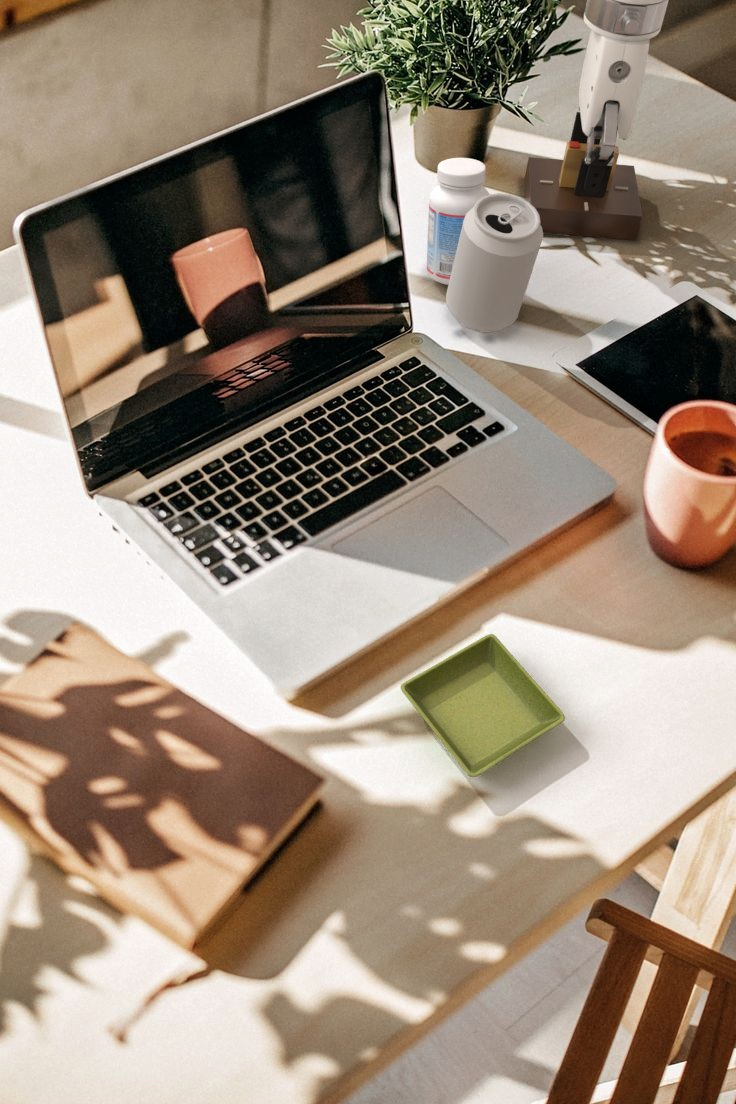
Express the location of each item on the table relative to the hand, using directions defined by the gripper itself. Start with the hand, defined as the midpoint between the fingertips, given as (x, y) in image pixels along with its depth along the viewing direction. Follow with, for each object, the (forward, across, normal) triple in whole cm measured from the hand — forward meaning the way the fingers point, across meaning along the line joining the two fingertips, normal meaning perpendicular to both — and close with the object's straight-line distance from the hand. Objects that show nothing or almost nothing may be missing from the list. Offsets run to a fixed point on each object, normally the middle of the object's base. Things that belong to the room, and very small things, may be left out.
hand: (586, 171), depth 113 cm
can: (+5, -20, +11) cm, 23 cm away
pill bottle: (+4, -15, +14) cm, 20 cm away
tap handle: (+2, 0, 0) cm, 2 cm away
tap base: (+5, 0, 0) cm, 5 cm away
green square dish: (+5, -66, +11) cm, 67 cm away
